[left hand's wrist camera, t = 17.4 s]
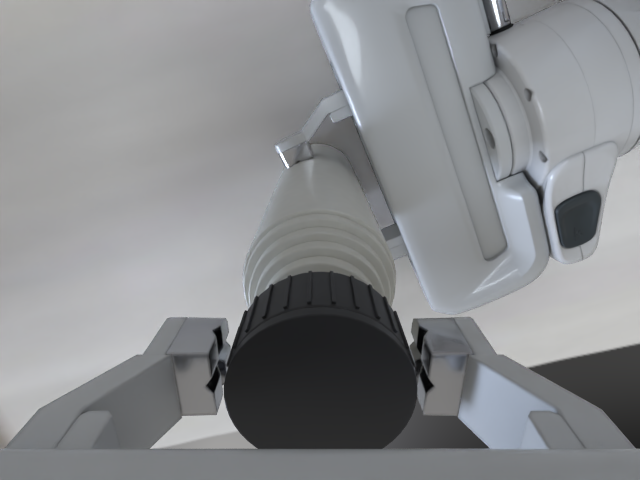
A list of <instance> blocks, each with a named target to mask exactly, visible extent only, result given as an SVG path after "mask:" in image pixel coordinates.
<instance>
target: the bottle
mask: <svg viewBox="0 0 640 480" xmlns="http://www.w3.org/2000/svg"><path fill="white" fill-rule="evenodd" d="M311 148H312V150H313V157H312V158H309V159H307V160H304V161H302V162H301V161H297V163H296V164H295V165H293V166H292V167H290V168H285V167H284V169H283V171H282V174H281V176H280V178H279V181H278V183H277V185H276V188H275V190H274V193H273V195H272V197H271V200H270V202H269V204H268V207H267V209H266V211H265V214H264V216H263V218H262V221H261V223H260V226H259V228H258V230H257V233H256V235H255V237H254V240H253V242H252V244H251V247H250V249H249V251H248V254H247V256H246V259H245V263H244V268H243V287H244V295H245V301H246V304H247V307H248V309H249V308H250V306H251V305H252V303H253V301H254V298H255V297H256V296H259V295H260V294H261V293H263V292H264V291H265V290H266V289H268V288H269V285H270V284H273V285H274V284H275V283H277V282H279V281H281V280H284V279H286V278H288V276H289V275H291V276H294V275H298V274H301V273H308V271H312V272H330V271H333V273H338V274H339V273H340V274H343V275H347V276H351V275H352V276H354V278H355V279H357V280H360V281H362V282H364V283H366V284H367V285H369V284H371V285H372V287H373V289H375V290H376V291H377V292H378V293H379V294H381V296H382V297H384V296H385V297H386V298H387V301H388V304H389V305H390V307H391V306H392V303H393V299H394V294H395V284H396V270H395V264H394V260H393V257H392V254H391V252H390V249H389V247H388V245H387V243H386V241H385V238H384V236H383V234H382V232H381V230H380V227H379V225H378V223H377V221H376V219H375V216H374V214H373V212H372V210H371V208H370V205H369V203H368V201H367V199H366V197H365V194H364V192H363V190H362V188H361V186H360V183H359V181H358V179H357V177H356V175H355V172H354V170H353V168H352V166H351V164H350V162H349V160H348V159H347V157H346V156H345V155H344V154H343V153H342V152H341V151H339V150H338V149H336V148H334V147H332V146H329V145H325V144H311Z"/></svg>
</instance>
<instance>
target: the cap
mask: <svg viewBox="0 0 640 480" xmlns="http://www.w3.org/2000/svg"><path fill="white" fill-rule="evenodd" d="M226 367H228V370H227V373H226V376H225V382H224V399H225V404H226V408H227V411H228V414H229V416H230V418H231V420H232V422H233V424H234V426H235V427H236V428H237V430H238V431H239V432H240V434H241V435H242V436H244V438H245V439H246V440H247V441H249V442H250V443H251V444H252V445H254V446H255V447H256V448H258V449H383V448H384V447H385V446H387V445H388V444H389V443H391V442H392V441H393V440H394V439H395V438H396V437H397V436H398V435H399V434H400V433H401V432H402V430H403V429H404V428H405V427H406V425H407V423H408V421H409V420H410V418H411V416H412V414H413V411H414V408H415V405H416V400H417V389H418V386H417V378H416V374H415V370H414V367H415V363H414V360H413V358H412V355H411V352H410V349H409V346H408V343H407V340H406V337H405V335H404V332H403V329H402V326H401V323H400V321H399V318H398V315H397V312H396V311H394V312H393V310H392V308H391V307H390V305H389V304H388V301H387V298H386V297H385V296H384V297H382V296H381V294H379V293H378V292H377V291H376V290H375V289H373V287H372V285H371V284H369V285H367V284H366V283H364V282H362V281H360V280H357V279H355V278H354V276H352V275H351V276H347V275H343V274H340V273H339V274H338V273H333V271H330V272H312V271H308V273H301V274H298V275H294V276H291V275H289V276H288V278H286V279H284V280H281V281H279V282H277V283H275V284H274V285H273V284H270V285H269V288H268V289H266V290H265V291H264V292H263V293H261V294H260V295H259V296H256V297H255V298H254V301H253V303H252V305H251V306H250V308H249V309H248V311H246V310H245V312H244V314H243V317H242V320H241V323H240V326H239V328H238V331H237V334H236V337H235V340H234V343H233V346H232V349H231V352H230V355H229V358H228V361H227V364H226Z"/></svg>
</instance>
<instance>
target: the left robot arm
mask: <svg viewBox="0 0 640 480" xmlns="http://www.w3.org/2000/svg"><path fill="white" fill-rule="evenodd" d="M228 333H229V329H228V322H227V320H226V318H198V317H189V318H188V317H170V318H167V319H166V321H165V322H164V324H163V325H162V327H161V328H160V330H159V331H158V333H157V334H156V336H155V337H154V339H153V340H152V342H151V343H150V345H149V346H148V348H147V349H146V351H145V352H144V354H143V355H135V356H134V357H132V358H130V359H128V360H126V361H125V362H123V363H121V364H119V365H117V366H116V367H114V368H112V369H110V370H108V371H107V372H105V373H103V374H101V375H99V376H98V377H96V378H94V379H92V380H90V381H89V382H87V383H85V384H83V385H81V386H80V387H78V388H76V389H74V390H72V391H71V392H69V393H67V394H65V395H63V396H62V397H60V398H58V399H56V400H54V401H53V402H51V403H49V404H47V405H45V406H44V407H42V408H40V409H39V410H38V411H37V412H36V413H35V414H34V415H33V416H32V418H31V419H30V420H29V421H28V422H27V423H26V424H25V426H24V427H23V428H22V429H21V430H20V431H19V432H18V434H17V435H16V436H15V437H14V438H13V439H12V440H11V441H10V443H9V444H8V445H7V446H6V447H5V448H4V449H0V480H640V449H636V448H635V447H634V446H633V445H632V444H631V443H630V442H629V440H628V439H627V438H626V437H625V436H624V435H623V433H622V432H621V431H620V430H619V429H618V428H617V427H616V425H615V424H614V423H613V422H612V421H611V420H610V419H609V417H608V416H607V415H606V414H605V413H604V412H603V411H602V410H601V409H600V408H598V407H596V406H594V405H592V404H591V403H589V402H587V401H585V400H584V399H582V398H580V397H578V396H576V395H574V394H573V393H571V392H569V391H567V390H566V389H564V388H562V387H560V386H558V385H557V384H555V383H553V382H551V381H549V380H548V379H546V378H544V377H542V376H540V375H539V374H537V373H535V372H533V371H531V370H530V369H528V368H526V367H524V366H522V365H521V364H519V363H517V362H515V361H513V360H512V359H510V358H508V357H506V356H504V355H497V354H496V352H495V351H494V349H493V348H492V346H491V345H490V343H489V342H488V340H487V339H486V337H485V336H484V334H483V333H482V331H481V330H480V329H479V327H478V326H477V324H476V323H475V321H474V320H473V319H472V318H471V317H454V318H421V319H413V322H412V328H411V333H412V336H413V339H414V342H413V343H412V344H411V345H410V347H409V349H410V352H411V355H412V358H413V360H414V363H415V367H414V370H415V374H416V378H417V385H418V389H417V396H418V400H419V402H420V406H421V409H422V412H423V415H445V416H446V415H447V416H458V418H459V419H460V420H461V421H462V422H463V423H464V424H465V425H466V426H468V427H469V428H470V429H471V430H472V431H473V432H474V433H475V434H476V435H477V436H478V437H479V438H480V439H481V440H482V441H483V442H484V443H485V444H486V445H487V446H488V447H489V448H490V449H150V448H151V447H152V446H153V445H154V444H155V443H156V442H157V441H158V440H159V439H160V438H161V437H162V436H163V435H164V434H165V433H166V432H167V431H169V430H170V429H171V428H172V427H173V426H174V425H175V424H176V423H177V422H178V421H179V420H180V419H181V418H182V416H194V415H217V412H218V409H219V406H220V403H221V399H222V396H223V389H222V385H224V382H225V376H226V373H227V370H228V367H226V364H227V361H228V358H229V355H230V352H231V347H230V345H229V344H228V343H227V342H226V339H227V336H228Z"/></svg>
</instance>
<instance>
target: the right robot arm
mask: <svg viewBox="0 0 640 480" xmlns="http://www.w3.org/2000/svg"><path fill="white" fill-rule="evenodd" d="M310 14H311V18H312V21H313V23H314V26H315V28H316V31H317V33H318V36H319V38H320V40H321V43H322V45H323V48H324V50H325V53H326V55H327V58H328V60H329V63H330V65H331V68H332V70H333V72H334V75H335V77H336V80H337V82H338V85H339V87H340V90H339V91H337V92H335V93H333V94H331V95H329V96H327V97H325V98H323V99H321V101H320V102H319V104H318V105H317V107H316V108H315V110H314V111H313V113H312V114H311V116H310V117H309V119H308V120H307V122H306V123H305V125H304V126H303V128H302V130H301V131H299V132H297V133H295V134H292V135H290V136H288V137H286V138H284V139H282V140H280V141H279V142H277V143H276V144H275V145H274V146H275V148H276V151H277V153H278V155H279V156H280V158H281V160H282V162H283V164H284V166H285V168H290V167H292V166H293V165H295V164H296V163H297V161H301V162H302V161H304V160H307V159H309V158H312V157H313V150H312V148H311V145H310V143H309V141H310V139H311V138H312V137H313V135H314V134H315V132H316V131H317V129H318V128H319V126H320V125H321V124H322V122H323V121H324V119H325V118H326V116H327V115H328V114H329V115H330V118H331V120H332V122H333V123H337V122H339V121H341V120H343V119H345V118H348V117H350V116H351V117H352V119H353V122H354V124H355V127H356V129H357V132H358V134H359V137H360V139H361V141H362V144H363V146H364V149H365V151H366V154H367V156H368V159H369V161H370V164H371V166H372V169H373V171H374V173H375V176H376V178H377V181H378V183H379V186H380V188H381V191H382V193H383V196H384V198H385V201H386V203H387V205H388V208H389V210H390V213H391V215H392V218H393V220H394V223H395V224H393V225H390V226H388V227H386V228H383V229H381V232H382V234H383V236H384V238H385V241H386V243H387V245H388V247H389V249H390V252H391V254H392V257H393V260H395V259H398V258H401V257H403V256H406V255H408V257H409V260H410V262H411V265H412V267H413V270H414V272H415V274H416V277H417V279H418V282H419V284H420V287H421V289H422V291H423V293H424V296H425V298H426V300H427V302H428V303H429V305H430V307H431V309H432V310H434V311H436V312H440V313H445V314H451V315H454V314H459V313H463V312H466V311H469V310H472V309H474V308H477V307H480V306H482V305H485V304H487V303H490V302H492V301H494V300H497V299H499V298H501V297H504V296H506V295H508V294H510V293H512V292H514V291H517V290H519V289H521V288H523V287H524V286H526V285H528V284H529V283H531V282H532V281H534V280H535V279H536V278H537V277H538V276H539V275H540V274H541V273H542V272H543V271H544V269H545V268H546V266H547V263H548V260H549V256H550V257H552V258H554V259H555V260H557V261H559V262H561V263H563V264H572V263H576V262H579V261H581V260H584V259H586V258H588V257H590V256H591V255H592V254H593V253H594V252H595V250H596V248H597V245H598V240H599V234H600V228H601V222H602V216H603V211H604V206H605V201H606V197H607V192H608V188H609V185H610V181H611V178H612V174H613V171H614V168H615V165H616V162H617V157H620V156H622V155H624V154H626V153H628V152H629V151H631V150H633V149H634V148H635V147H637V146H638V145H640V0H563V1H561V2H559V3H557V4H555V5H553V6H551V7H549V8H547V9H545V10H543V11H540V12H538V13H536V14H534V15H532V16H530V17H528V18H526V19H524V20H522V21H519V22H517V23H515V24H511V21H510V17H509V13H508V9H507V5H506V1H505V0H311V3H310ZM490 33H491V34H490ZM488 34H489V35H490V36H489V37H488V36H487V35H488Z"/></svg>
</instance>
